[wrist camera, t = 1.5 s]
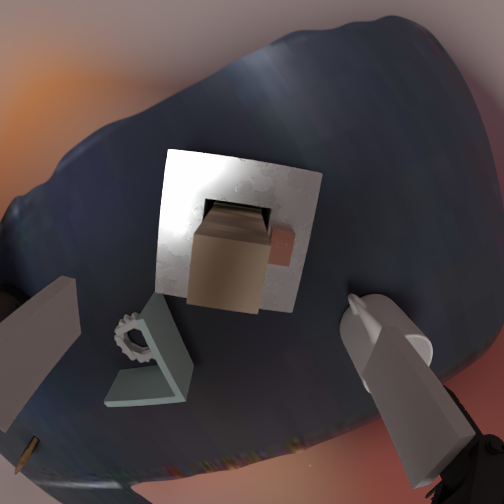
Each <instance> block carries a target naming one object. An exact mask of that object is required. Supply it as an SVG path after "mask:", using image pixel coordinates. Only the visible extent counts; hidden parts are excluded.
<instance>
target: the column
mask: <svg viewBox="0 0 504 504" xmlns="http://www.w3.org/2000/svg"><path fill="white" fill-rule="evenodd" d="M261 212H262V209H261V207H259V206H253V205H247V204H240V203H234V202H227V201H221V200H216V201H215V202H214V206H213V207H212V209H211V210H210V212H209V213H208V214H207V216H206V217H205V218H204V220H203V221H202V223H201V224H200V225H199V227H198V228H197V230H196V231H195V233H194V234H193V243H192V252H191V261H190V271H189V282H188V293H187V304H191V305H197V306H204V307H210V308H216V309H223V310H230V311H237V312H244V313H251V314H258V311H259V306H260V301H261V296H262V291H263V286H264V281H265V275H266V270H267V265H268V260H269V255H270V249H271V244H270V240H269V237H268V234H267V230H266V227H265V224H264V220H263V217H262V214H261Z"/></svg>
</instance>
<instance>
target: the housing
mask: <svg viewBox="0 0 504 504" xmlns="http://www.w3.org/2000/svg"><path fill="white" fill-rule="evenodd" d="M322 175H323V173H319V172H314V171H309V170H304V169H299V168H294V167H289V166H284V165H278V164H273V163H267V162H261V161H255V160H249V159H243V158H236V157H229V156H222V155H215V154H207V153H199V152H190V151H181V150H172V149H168V154H167V161H166V169H165V176H164V184H163V193H162V202H161V212H160V222H159V234H158V247H157V262H156V281H155V292H156V293H161V294H167V295H172V296H178V297H184V298H187V293H188V282H189V271H190V261H191V252H192V243H193V234H194V233H195V231H196V230H197V228H198V227H199V225H200V224H201V223H202V221H203V220H204V218H205V217H206V216H207V214H208V213H209V212H210V206H211V199H214V200H221V201H227V202H234V203H240V204H247V205H253V206H259V207H265V208H266V209H265V214H264V224H265V227H266V230H267V234H268V237H269V240H270V244H271V249H270V255H269V260H268V265H267V270H266V275H265V281H264V286H263V291H262V296H261V301H260V306H259V309H265V310H273V311H281V312H289V313H292V312H293V308H294V304H295V300H296V296H297V291H298V287H299V283H300V279H301V275H302V270H303V266H304V262H305V257H306V253H307V248H308V244H309V239H310V235H311V230H312V225H313V220H314V216H315V211H316V206H317V201H318V196H319V191H320V185H321V180H322Z"/></svg>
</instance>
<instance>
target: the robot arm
mask: <svg viewBox="0 0 504 504" xmlns="http://www.w3.org/2000/svg"><path fill="white" fill-rule="evenodd" d="M80 334H81V328H80V321H79V312H78V303H77V292H76V279H74V278H70V277H65V276H60V277H59V278H58V279H56V280H55V281H53V282H52V283H51V284H49V285H48V286H47V287H45V288H44V289H43V290H41V291H40V292H39V293H37V294H36V295H35V296H33V297H32V298H31V299H29V298H28V297H27V296H26V295H25V294H24V293H23V292H21V291H20V290H19V289H17V288H15V287H13V286H9V285H1V286H0V430H1V431H3V432H4V433H6V431H7V430H8V428H9V427H10V425H11V424H12V422H13V421H14V419H15V418H16V417H17V415H18V414H19V412H20V411H21V410H22V408H23V407H24V405H25V404H26V403H27V401H28V400H29V399H30V397H31V396H32V395H33V393H34V392H35V391H36V389H37V388H38V387H39V385H40V384H41V383H42V381H43V380H44V379H45V377H46V376H47V375H48V374H49V372H50V371H51V370H52V368H53V367H54V366H55V365H56V363H57V362H58V361H59V360H60V358H61V357H62V356H63V355H64V353H65V352H66V351H67V350H68V349H69V347H70V346H71V345H72V344H73V343H74V341H75V340H76V339H77V338H78V337H79V335H80ZM362 376H363V378H364V380H365V382H366V384H367V386H368V389H369V391H370V393H371V395H372V397H373V399H374V401H375V404H376V406H377V408H378V410H379V412H380V414H381V417H382V419H383V421H384V423H385V426H386V428H387V430H388V432H389V434H390V437H391V439H392V441H393V443H394V446H395V448H396V450H397V452H398V455H399V457H400V460H401V462H402V464H403V467H404V469H405V472H406V474H407V476H408V479H409V481H410V484H411V486H412V488H413V489H415V488H418V487H422V486H425V485H428V484H430V483H431V482H432V481H433V480H434V479H435V478H436V477H437V476H438V475H439V474H440V476H441V479H442V481H441V482H439V483H438V484H437V485H436V486H435V487H434V488H433V489H432V490H431V491H430V492H429V493H428V494H427V495H426V497H425V498H428V497H429V496H430V495H432V494H433V493H434V492H435V494H434V497H432V498H431V500H432V503H431V504H504V442H503V441H502V440H501V439H500V438H499V437H497V436H495V435H492V434H487V435H483V434H482V433H481V431H480V430H479V429H478V427H477V425H476V424H475V422H474V421H473V419H472V418H471V417H470V415H469V414H468V412H467V411H466V410H464V409H465V408H464V407H463V406H462V404H461V403H459V400H458V398H457V397H456V396H455V394H454V393H453V392H452V391H451V390H449V389H448V388H447V387H446V386H444V385H442V384H441V383H440V381H439V380H438V379H437V377H436V376H435V375H434V373H433V372H432V371H431V369H430V368H429V367H428V365H427V364H426V363H425V361H424V360H423V359H422V357H421V356H420V355H419V354H418V352H417V351H416V350H415V348H414V347H413V346H412V345H411V343H410V342H409V341H408V339H407V338H406V337H405V336H404V334H403V333H402V332H401V331H400V329H399V328H398V327H397V326H385V325H383V326H382V329H381V331H380V334H379V336H378V339H377V341H376V344H375V346H374V348H373V351H372V353H371V356H370V358H369V360H368V362H367V365H366V367H365V369H364V371H363V374H362Z"/></svg>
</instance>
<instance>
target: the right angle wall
mask: <svg viewBox="0 0 504 504" xmlns="http://www.w3.org/2000/svg"><path fill="white" fill-rule="evenodd" d="M133 328H135V329H138V330H141V332H142V334H143V336H144V338H145V340H146V342H147V344H148V347H141V346H139V345H137V344H135V343H133V342H131V340H130V338H129V336H128V334H127V332H128V331H129V330H131V329H133ZM114 331H115V333H116V335H115V336H114V337H115V338H114V339H115V341H116V342H117V345H118V346H120V347H121V348H122V352H123V353H125V354H127V356H128V357H129V358H130V359H131V360H135V359H136V358H137V360H138V361H139V362H140V363H142V362H145V361H146V362H149V361H150V359H151V358H153V359H156V361H157V363H158V365H154V366H147V367H139V368H131V369H123V370H120V371H119V372H118V374H117V376H116V378H115V380H114V382H113V384H112V386H111V388H110V390H109V392H108V394H107V396H106V398H105V400H104V403H105V404H106V406H107V407H122V406H141V405H154V404H166V403H176V402H185V401H186V399H187V394H188V390H189V385H190V381H191V376H192V372H193V368H194V364H193V362H192V360H191V358H190V356H189V353H188V351H187V349H186V347H185V345H184V343H183V340H182V338H181V336H180V334H179V331H178V329H177V327H176V324H175V322H174V320H173V318H172V315H171V313H170V310H169V308H168V306H167V303H166V301H165V298H164V296H163V294H161V293H156V292H154V293H153V295H152V296H151V298H150V299H149V301H148V302H147V304H146V306H145V307H144V309H143V310H142V312H141V313H140V314H138V313H136V312H134V313H132V315H131V316H129V315H127V314H125V315H124V318H123V319H120V322H119V325H118V326H117V327H116V328H115V330H114Z"/></svg>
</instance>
